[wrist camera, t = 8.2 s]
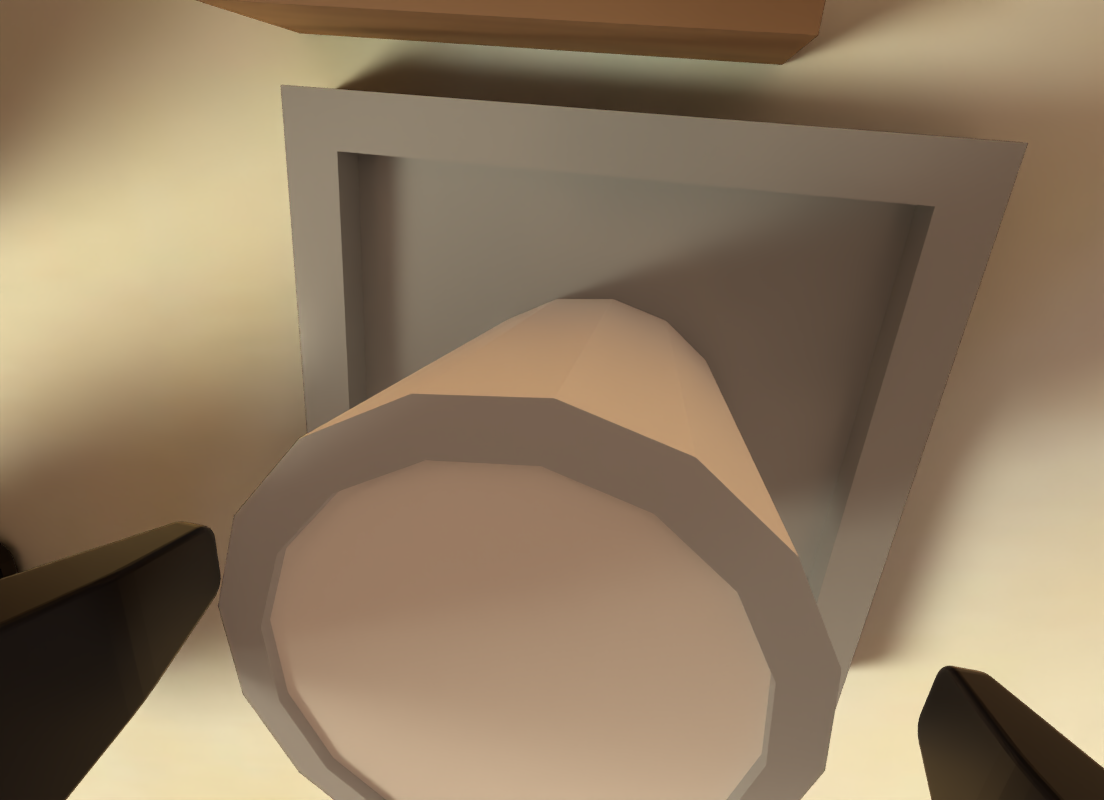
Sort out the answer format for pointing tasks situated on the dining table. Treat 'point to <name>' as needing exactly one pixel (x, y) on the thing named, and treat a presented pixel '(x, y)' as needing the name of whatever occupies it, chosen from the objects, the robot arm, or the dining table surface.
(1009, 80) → the dining table surface
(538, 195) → the tray
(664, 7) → the wooden pieces
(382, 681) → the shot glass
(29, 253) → the dining table surface
